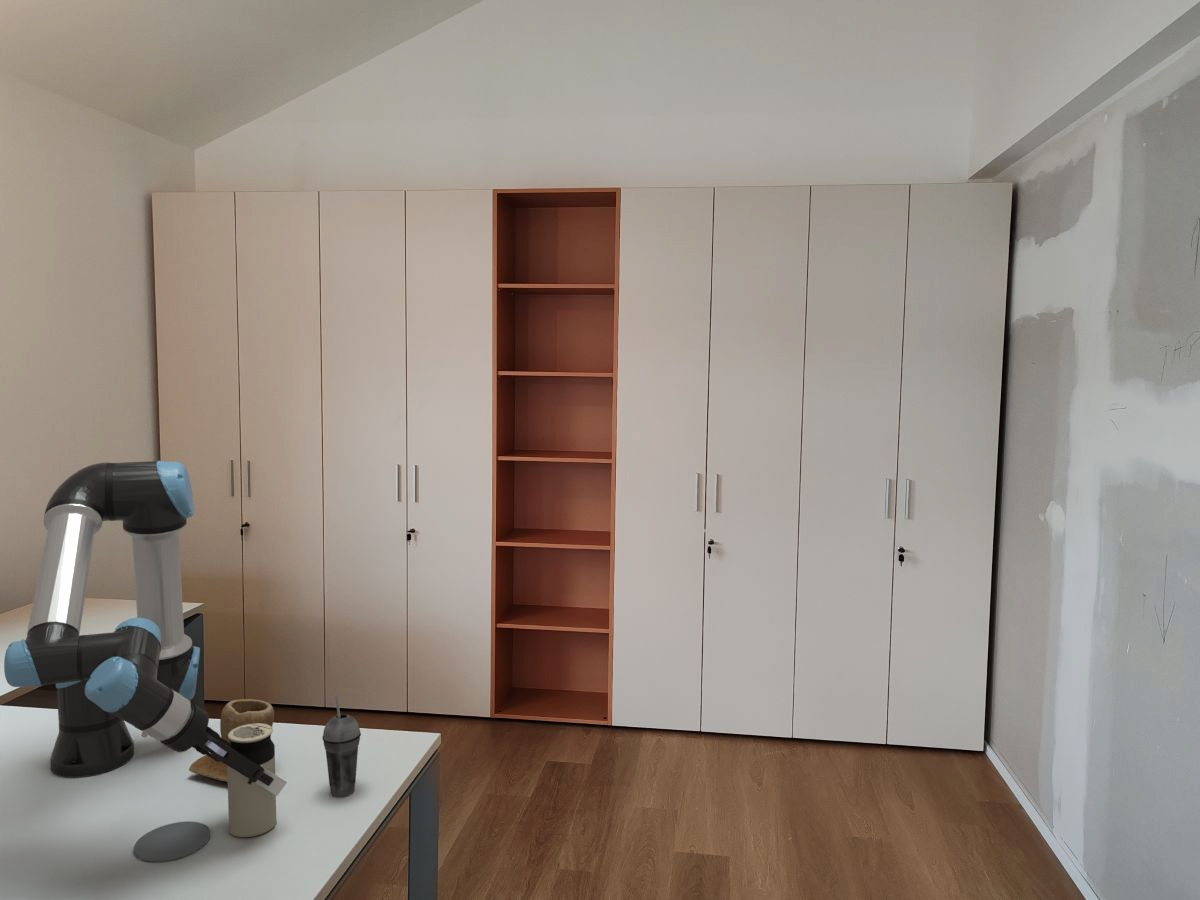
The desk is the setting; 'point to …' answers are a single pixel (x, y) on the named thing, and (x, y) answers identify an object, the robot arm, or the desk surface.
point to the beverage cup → (341, 752)
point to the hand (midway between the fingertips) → (270, 780)
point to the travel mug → (251, 802)
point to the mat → (172, 841)
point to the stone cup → (231, 718)
